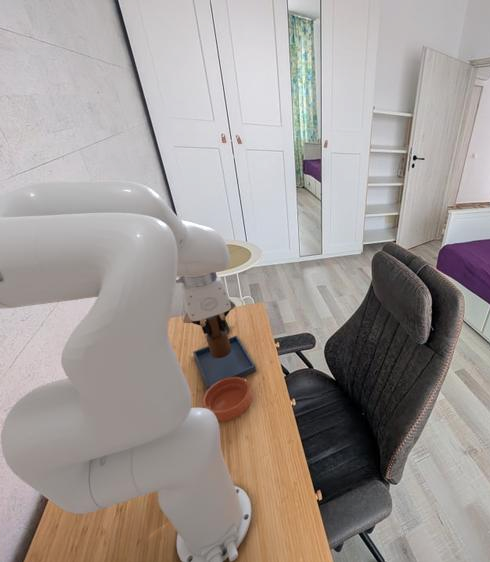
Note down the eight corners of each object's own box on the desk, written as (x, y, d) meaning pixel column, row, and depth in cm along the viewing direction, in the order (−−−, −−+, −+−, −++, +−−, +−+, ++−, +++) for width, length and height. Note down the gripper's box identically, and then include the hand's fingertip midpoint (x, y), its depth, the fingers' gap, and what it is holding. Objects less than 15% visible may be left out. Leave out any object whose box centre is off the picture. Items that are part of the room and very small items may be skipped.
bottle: (233, 353, 85) (224, 317, 78) (214, 361, 82) (202, 325, 75) (228, 343, 89) (219, 308, 82) (209, 350, 86) (198, 315, 79)
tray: (256, 372, 86) (255, 366, 85) (209, 394, 79) (206, 387, 77) (238, 340, 97) (236, 335, 96) (194, 357, 90) (192, 351, 88)
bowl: (258, 406, 76) (255, 397, 74) (212, 431, 70) (209, 421, 68) (244, 380, 84) (241, 370, 82) (201, 399, 77) (198, 390, 75)
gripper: (164, 293, 65) (185, 351, 74) (238, 274, 74) (249, 328, 84) (159, 279, 70) (180, 335, 79) (229, 263, 79) (240, 315, 89)
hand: (215, 331), depth 81 cm, fingers closed on bottle, 3 cm apart
